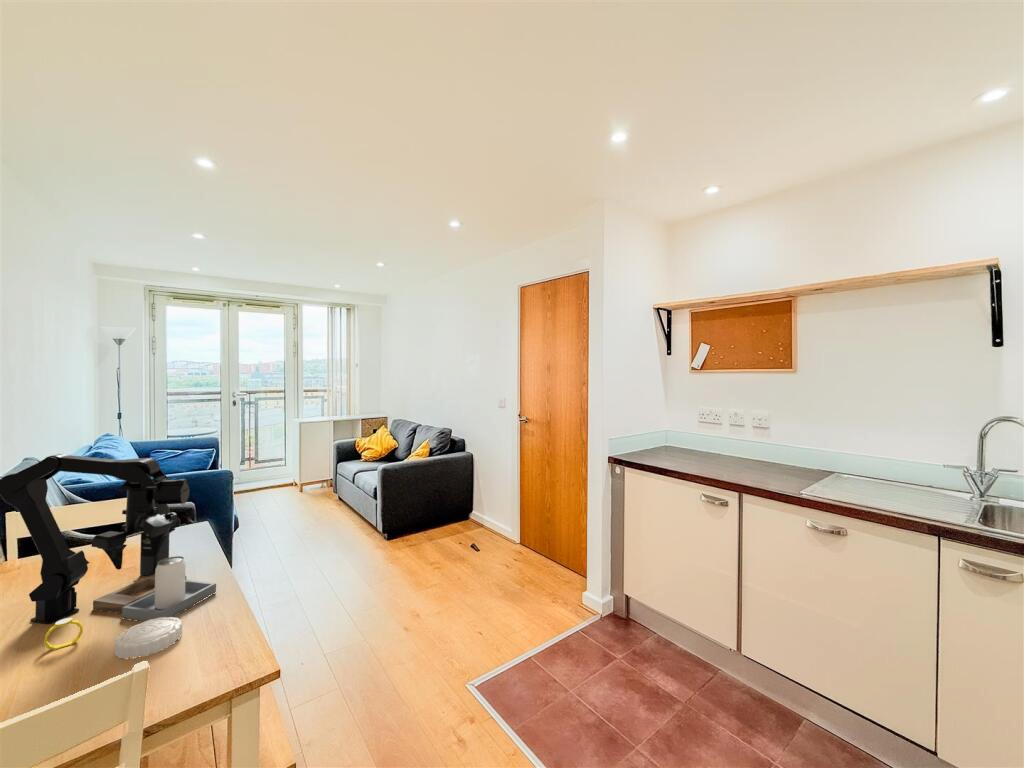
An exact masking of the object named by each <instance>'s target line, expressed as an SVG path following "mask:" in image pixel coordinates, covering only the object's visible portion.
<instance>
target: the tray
mask: <svg viewBox="0 0 1024 768" xmlns="http://www.w3.org/2000/svg"><path fill="white" fill-rule="evenodd" d="M215 592H216V593H217V583H216V582H208V581H207V582H206V581H201V580H200V581H199V580H191V579H186V580H185V598H184V599H182V600H181V601H179V602H177V603H175V604H173V605H171V606H169V607H167V608H165V609H163V610H158V609H156V608H155V592H154V593H152V594H150V595H147V596H145V597H143V598H141V599H139V600H137V601H135V602H133V603H131V604H128V605H126V606H124V607H122V614H121V619H122V618H124V619H123V620H125V619H131V620H130V621H132V620H137V621H136V622H139V621H143V622H145V621H148V620H150V619H156V618H159V617H162V618H163V617H166V618H168V617H173V616H175V615H176V614H178V613H180V612H182V611H184V610H185V609H187V610H189V609H190V608H189V607H191V606H193V605H194V604H196V603H197V602H199V601H201V600H203V599H204V598H206V597H208V596H209V595H211V594H213V593H215ZM196 605H197V604H196ZM193 607H194V606H193ZM188 608H189V609H188ZM191 608H192V607H191ZM184 612H185V611H184ZM182 613H183V612H182ZM180 614H181V613H180ZM178 615H179V614H178ZM175 617H176V616H175ZM143 622H142V623H143Z"/></svg>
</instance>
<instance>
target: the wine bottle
mask: <svg viewBox="0 0 1024 768" xmlns="http://www.w3.org/2000/svg"><path fill="white" fill-rule="evenodd" d="M154 507H157V508H158V510H159V511H158V512H159V515H164V514H165V515H166V514H168V513H171V509H170V506H169V504H164V505H159V504H158V503H155V500H154ZM139 553H140V555H139V557H140V560H139V561H140V563H139V564H140V565H139V574H140V576H143V575H146V576H147V577H149V576H151V575H153V574H155V569H156V567H157V565H158V564H157V563H158V562H159V561H160V560H163V559H166V558H169V557H170V533H169V534H168V535H167V536H166V538H165V540H164V542H163V544H162V546H161V548H160V550H159V552H158V555H157V556H153V554H152V550H151V538H150V536H148V534H146V533H142V534H140V552H139ZM146 576H145V577H146Z"/></svg>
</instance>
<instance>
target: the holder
mask: <svg viewBox="0 0 1024 768" xmlns="http://www.w3.org/2000/svg"><path fill="white" fill-rule="evenodd" d="M185 580H187V575H185ZM150 587H151V588H152V589H150V590H148V591H146V592H144V593H141V594H139V595H137V596H136V595H135V594H137V593H139V592H141V591H144V590H145V588H146V589H148V588H150ZM154 592H155V574H153V575H151V576H147V577H146V576H145V577H144V578H142V579H139V580H138V581H135V582H133V583H130V584H128V585H126V586H124V587H121V588H118V589H117V590H115V591H112V592H110V593H108V594H105V595H103V596H100V597H98V598H95V599H93V601H92V602H93V603H92V609H95V610H94V611H99V610H102V611H101V612H106V611H111V612H110V613H113V612H117V613H116V614H121V613H122V607H124V606H126V605H128V604H131V603H133V602H135V601H137V600H139V599H141V598H143V597H145V596H147V595H150V594H152V593H154ZM132 594H133V595H132Z"/></svg>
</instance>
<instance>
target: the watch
mask: <svg viewBox="0 0 1024 768" xmlns="http://www.w3.org/2000/svg"><path fill="white" fill-rule="evenodd" d="M54 623H55V624H54V625H53V626H51V627H50V628H49V629H48V631H47V632H46V634H45V635H44V641H43V644H44V645H45V646H46V648H47V649H49V650H52V651H56V650H58V649H63V648H65V647H69V646H73V645H74V644H75V643H76V642H77V641H79V639H80V638H81V636H82V634H83V631H84V630H83V624H82V623H81V622H80V620H77V619H73V617H64V618H62V619H60V620H57V621H55V622H54ZM70 624H71V625H72V624H73V625H76V626H78V628H79V632H78V634H77V635H76V636H75V638H74V639H73V640H70V641H68V642H65V643H61V644H57V645H55V644H50V642H49V641H48V637H49V636H50V635H51V633H52V632H53V631H54V630H55V629H57V628H63V627H66V626H69V625H70Z"/></svg>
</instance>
